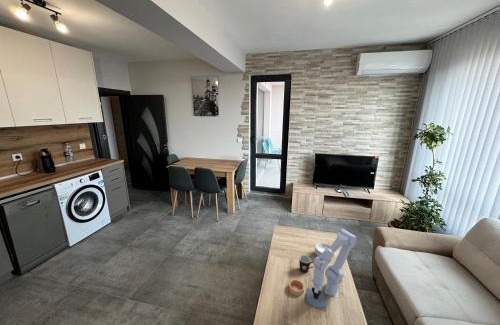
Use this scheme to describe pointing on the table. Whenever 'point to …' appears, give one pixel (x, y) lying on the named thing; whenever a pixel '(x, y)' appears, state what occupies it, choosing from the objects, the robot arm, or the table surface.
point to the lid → (316, 300)
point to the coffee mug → (304, 263)
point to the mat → (315, 307)
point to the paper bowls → (321, 248)
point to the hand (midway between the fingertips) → (316, 293)
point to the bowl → (296, 287)
